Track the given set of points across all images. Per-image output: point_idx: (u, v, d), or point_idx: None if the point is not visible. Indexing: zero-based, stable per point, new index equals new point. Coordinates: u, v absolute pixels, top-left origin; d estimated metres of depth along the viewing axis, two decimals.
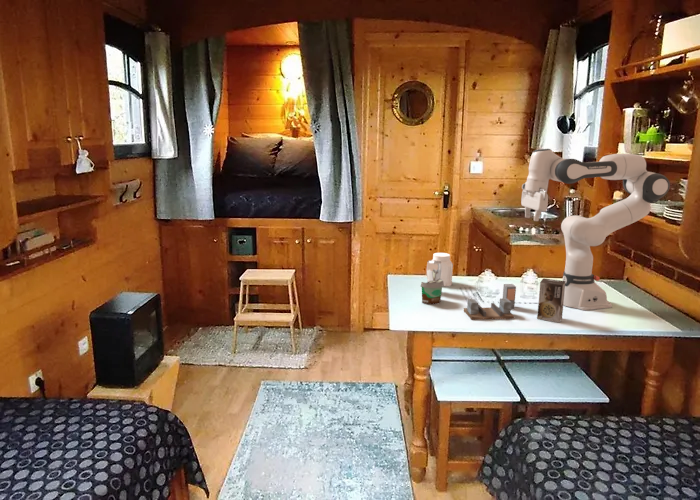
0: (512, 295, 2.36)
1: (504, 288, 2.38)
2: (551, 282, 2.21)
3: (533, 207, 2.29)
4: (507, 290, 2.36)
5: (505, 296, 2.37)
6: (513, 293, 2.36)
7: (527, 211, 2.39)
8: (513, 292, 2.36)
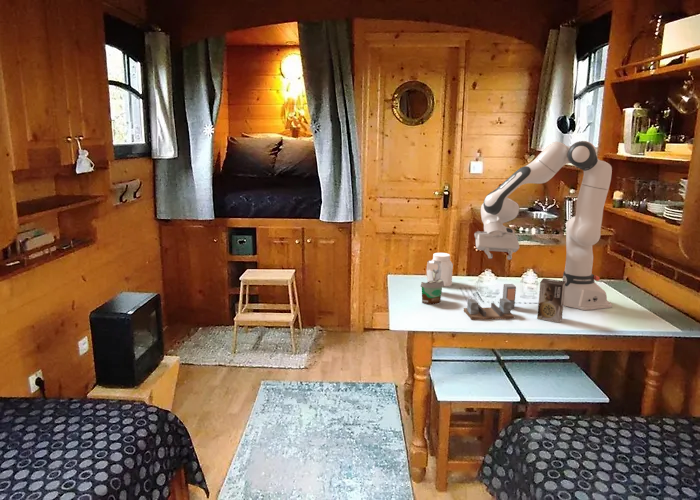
0: (512, 296, 2.36)
1: (504, 288, 2.38)
2: (551, 282, 2.21)
3: None
4: (507, 290, 2.36)
5: (505, 296, 2.37)
6: (513, 293, 2.36)
7: (509, 254, 2.49)
8: (513, 292, 2.36)
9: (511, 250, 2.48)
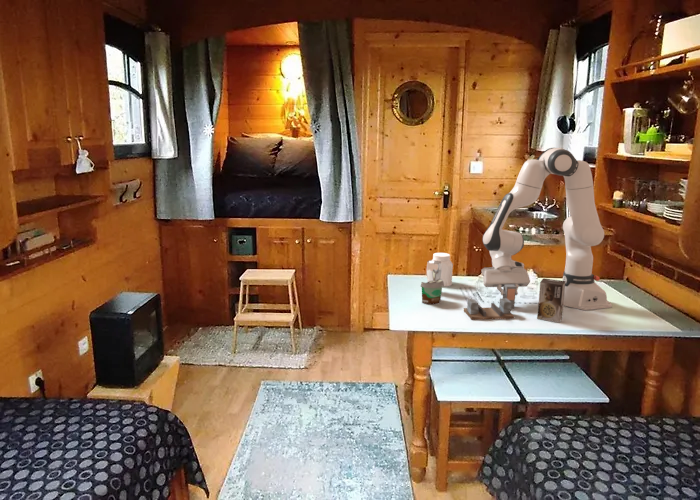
0: (512, 295, 2.36)
1: (504, 288, 2.38)
2: (551, 282, 2.21)
3: None
4: (507, 290, 2.36)
5: (505, 296, 2.37)
6: (513, 293, 2.36)
7: None
8: (513, 292, 2.36)
9: (517, 285, 2.39)
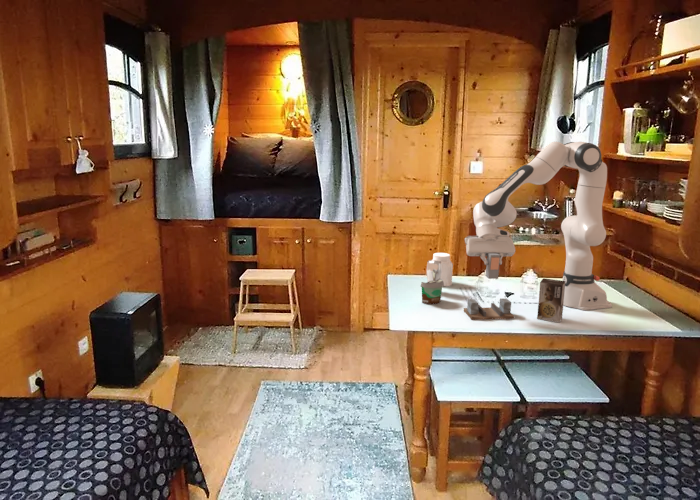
0: (496, 265, 2.24)
1: (488, 257, 2.26)
2: (551, 282, 2.21)
3: None
4: (491, 259, 2.23)
5: (489, 265, 2.25)
6: (497, 262, 2.24)
7: None
8: (497, 261, 2.24)
9: (501, 254, 2.27)
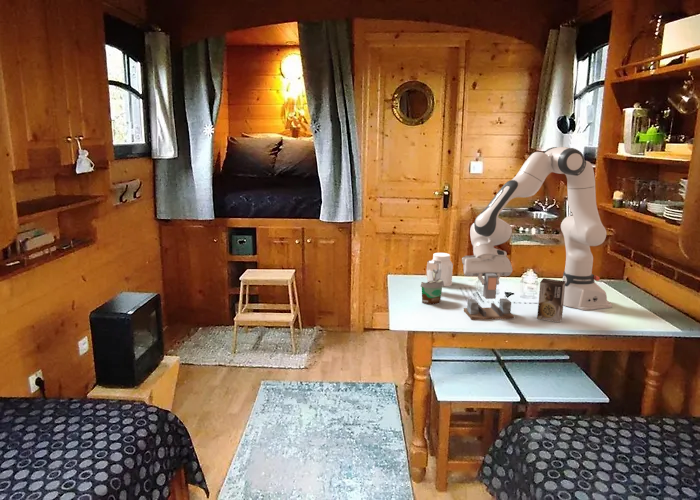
0: (493, 285, 2.25)
1: (485, 277, 2.27)
2: (551, 282, 2.21)
3: None
4: (488, 279, 2.24)
5: (486, 285, 2.26)
6: (494, 282, 2.25)
7: (497, 278, 2.28)
8: (494, 281, 2.24)
9: (498, 274, 2.28)
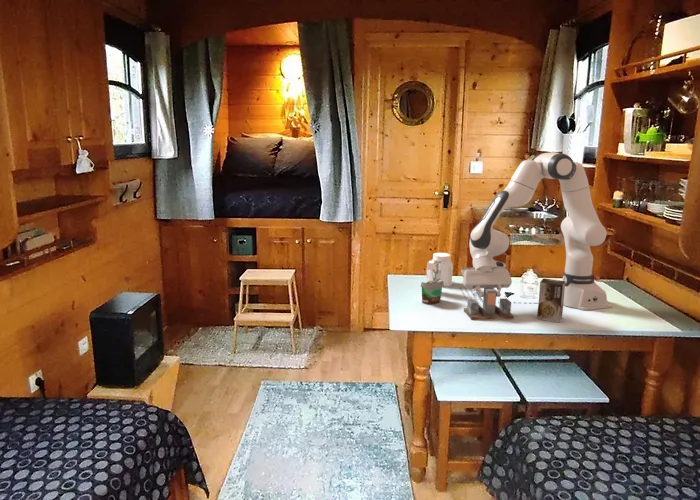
0: (493, 300, 2.26)
1: (485, 292, 2.28)
2: (551, 282, 2.21)
3: None
4: (487, 294, 2.26)
5: (485, 300, 2.27)
6: (493, 298, 2.26)
7: (498, 290, 2.29)
8: (493, 296, 2.26)
9: (500, 286, 2.29)
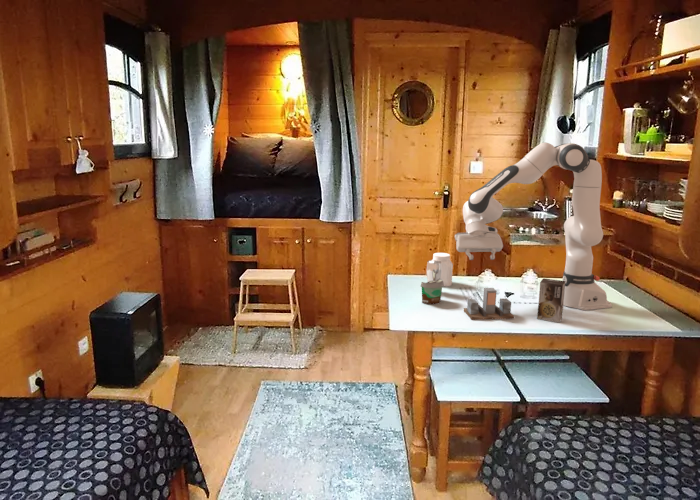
0: (493, 300, 2.26)
1: (485, 292, 2.28)
2: (551, 282, 2.21)
3: None
4: (487, 294, 2.26)
5: (485, 300, 2.27)
6: (493, 298, 2.26)
7: None
8: (493, 296, 2.26)
9: (494, 249, 2.39)
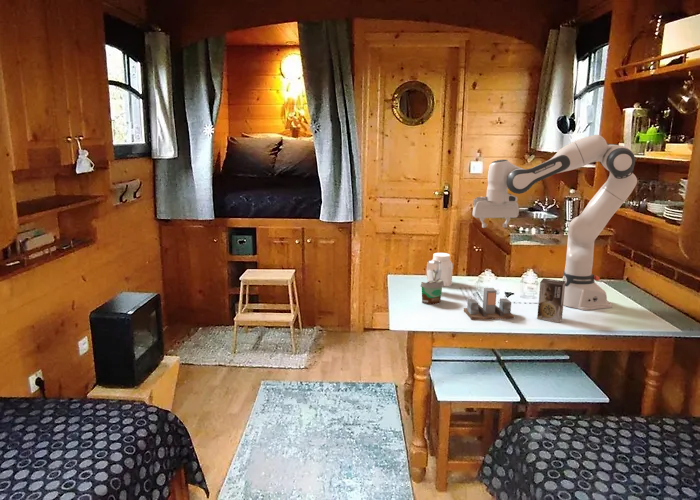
0: (493, 300, 2.26)
1: (485, 292, 2.28)
2: (551, 282, 2.21)
3: None
4: (487, 294, 2.26)
5: (485, 300, 2.27)
6: (493, 298, 2.26)
7: (506, 221, 2.44)
8: (493, 296, 2.26)
9: (508, 218, 2.43)
